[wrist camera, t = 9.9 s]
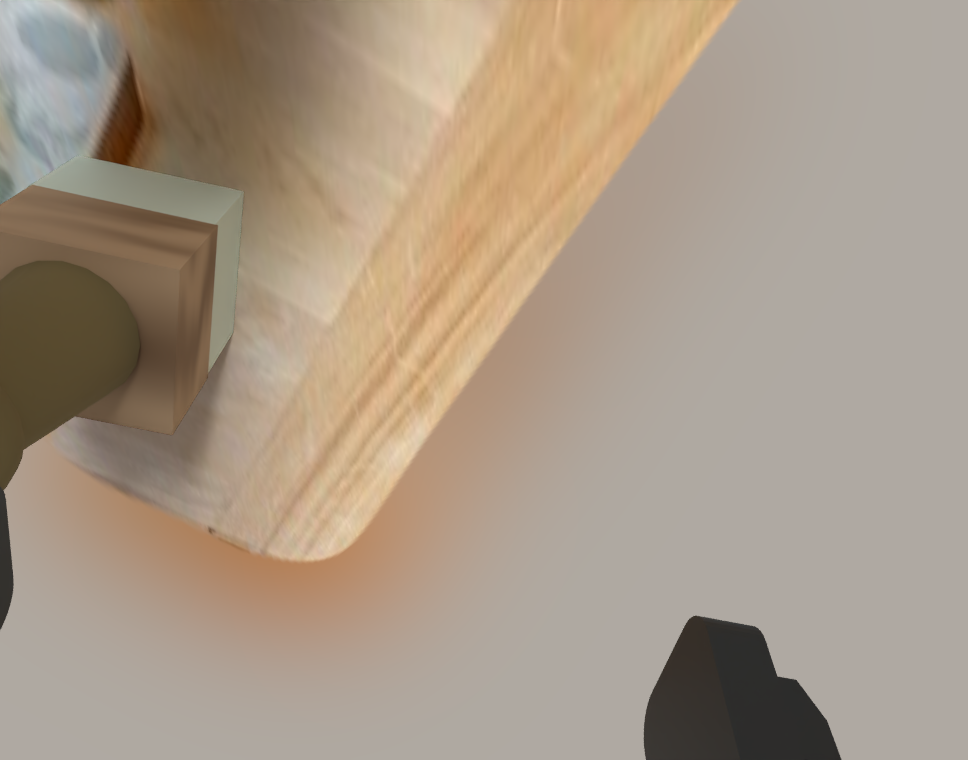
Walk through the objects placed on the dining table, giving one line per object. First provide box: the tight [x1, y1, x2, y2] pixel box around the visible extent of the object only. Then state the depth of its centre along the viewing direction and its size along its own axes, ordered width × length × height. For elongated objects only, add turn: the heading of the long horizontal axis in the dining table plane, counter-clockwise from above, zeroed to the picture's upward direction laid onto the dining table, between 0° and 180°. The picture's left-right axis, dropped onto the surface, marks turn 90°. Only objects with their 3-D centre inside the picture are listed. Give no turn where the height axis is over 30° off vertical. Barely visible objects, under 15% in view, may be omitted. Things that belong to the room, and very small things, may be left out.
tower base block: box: [28, 155, 244, 373], centre depth 41 cm, size 8×8×5 cm
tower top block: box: [0, 185, 218, 435], centre depth 37 cm, size 8×8×5 cm
